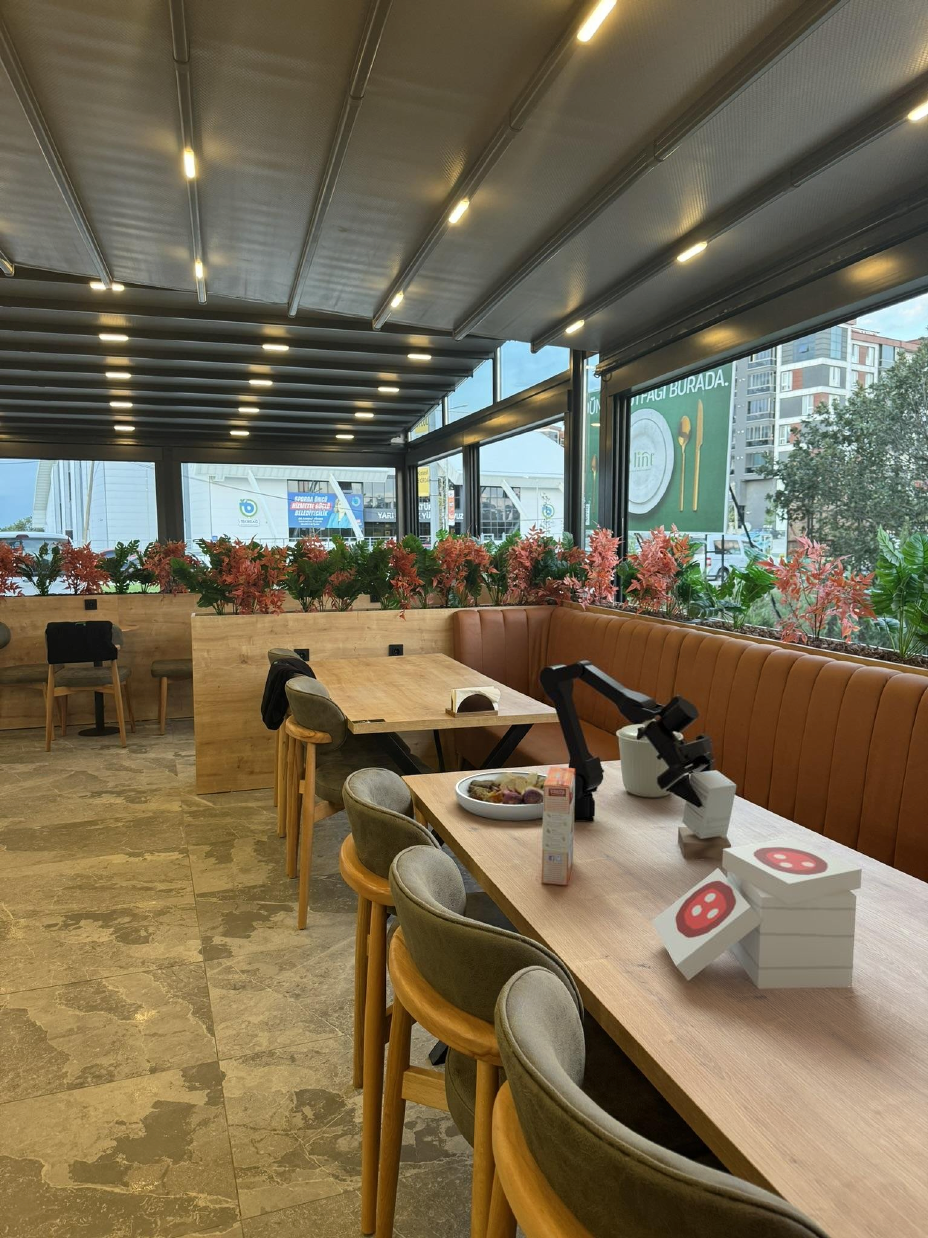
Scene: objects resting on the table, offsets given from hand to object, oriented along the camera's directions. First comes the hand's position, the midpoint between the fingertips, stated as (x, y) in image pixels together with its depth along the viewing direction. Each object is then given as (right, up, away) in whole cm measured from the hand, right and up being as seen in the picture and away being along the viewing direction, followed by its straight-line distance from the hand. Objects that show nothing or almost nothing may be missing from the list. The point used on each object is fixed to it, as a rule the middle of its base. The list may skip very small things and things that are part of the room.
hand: (710, 801), depth 180 cm
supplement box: (-1, -7, +2) cm, 7 cm away
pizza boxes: (-7, -16, -47) cm, 50 cm away
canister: (-4, -8, +45) cm, 46 cm away
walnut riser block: (-1, -12, +2) cm, 12 cm away
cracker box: (-35, -13, -10) cm, 39 cm away
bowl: (-42, -9, +34) cm, 55 cm away
